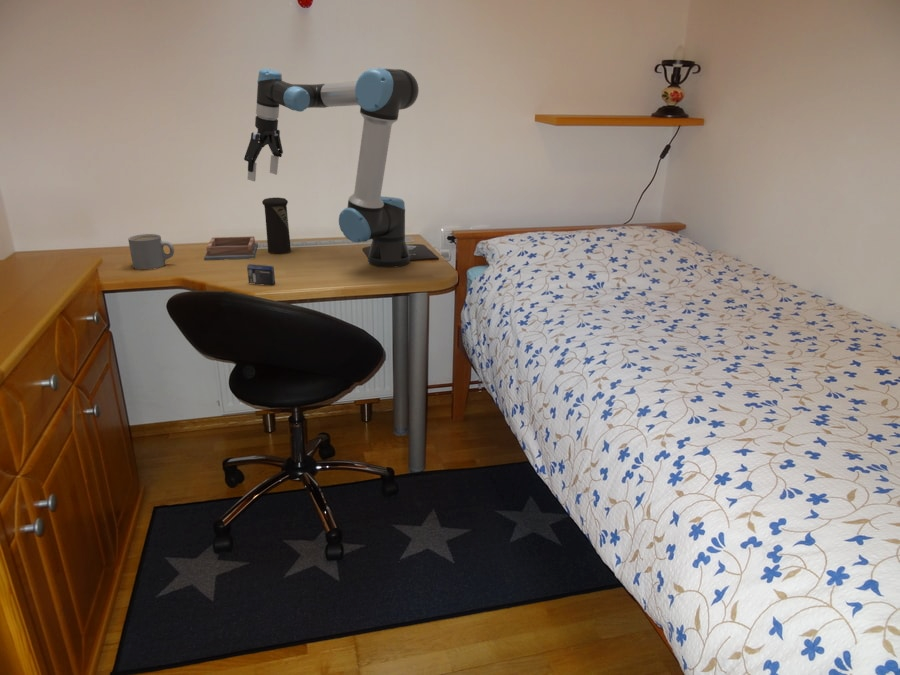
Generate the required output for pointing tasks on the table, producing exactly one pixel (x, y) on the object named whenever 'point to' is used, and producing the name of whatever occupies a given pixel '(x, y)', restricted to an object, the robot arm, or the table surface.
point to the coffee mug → (148, 251)
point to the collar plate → (231, 248)
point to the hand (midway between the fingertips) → (262, 176)
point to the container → (277, 225)
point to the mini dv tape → (261, 274)
